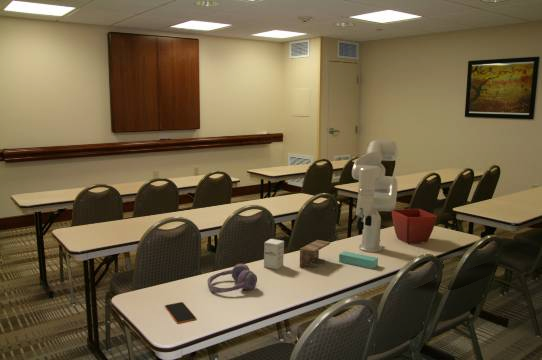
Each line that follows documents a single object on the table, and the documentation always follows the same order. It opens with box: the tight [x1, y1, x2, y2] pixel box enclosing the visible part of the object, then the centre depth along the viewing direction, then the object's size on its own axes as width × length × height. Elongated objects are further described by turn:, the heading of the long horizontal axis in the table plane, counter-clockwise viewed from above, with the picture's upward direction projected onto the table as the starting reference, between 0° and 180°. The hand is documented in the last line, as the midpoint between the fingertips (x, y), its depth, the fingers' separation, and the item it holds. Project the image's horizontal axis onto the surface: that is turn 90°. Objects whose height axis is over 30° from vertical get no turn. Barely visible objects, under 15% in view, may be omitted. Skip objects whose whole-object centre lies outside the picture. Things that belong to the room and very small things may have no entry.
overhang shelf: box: [299, 239, 331, 269], centre depth 229 cm, size 18×7×10 cm, turn 147°
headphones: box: [206, 263, 258, 294], centre depth 198 cm, size 18×8×20 cm
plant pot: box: [391, 208, 438, 245], centre depth 271 cm, size 19×19×17 cm
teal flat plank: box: [338, 250, 379, 270], centre depth 230 cm, size 6×18×4 cm, turn 57°
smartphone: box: [164, 301, 198, 325], centre depth 173 cm, size 8×17×1 cm, turn 29°
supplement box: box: [263, 238, 285, 270], centre depth 224 cm, size 7×7×13 cm
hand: (364, 227), depth 226 cm, fingers open, 9 cm apart
